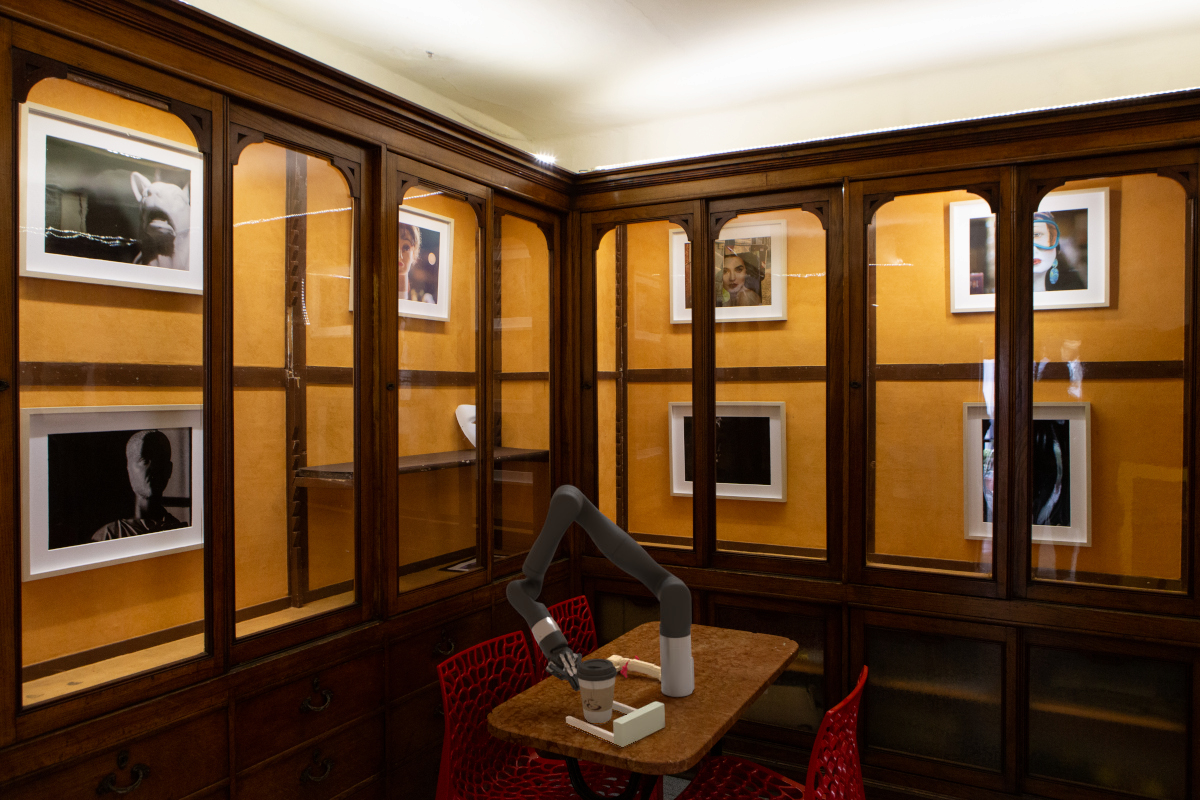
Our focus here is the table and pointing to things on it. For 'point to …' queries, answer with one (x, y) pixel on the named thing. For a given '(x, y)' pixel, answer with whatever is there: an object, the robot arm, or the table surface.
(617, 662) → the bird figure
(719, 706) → the table surface
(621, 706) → the guide track
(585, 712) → the coffee cup
